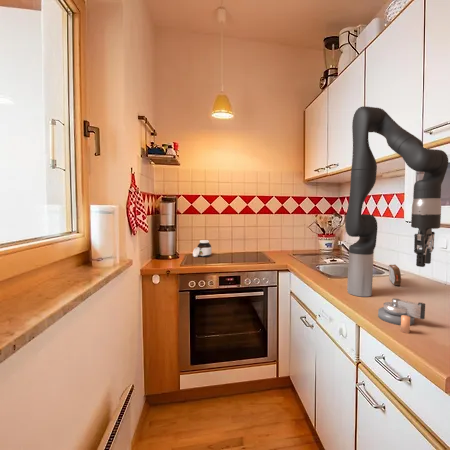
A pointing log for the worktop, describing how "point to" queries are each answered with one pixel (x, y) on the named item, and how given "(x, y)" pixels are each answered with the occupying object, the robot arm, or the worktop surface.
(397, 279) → the tin
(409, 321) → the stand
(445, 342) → the worktop surface
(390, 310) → the dial
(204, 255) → the spread jar
